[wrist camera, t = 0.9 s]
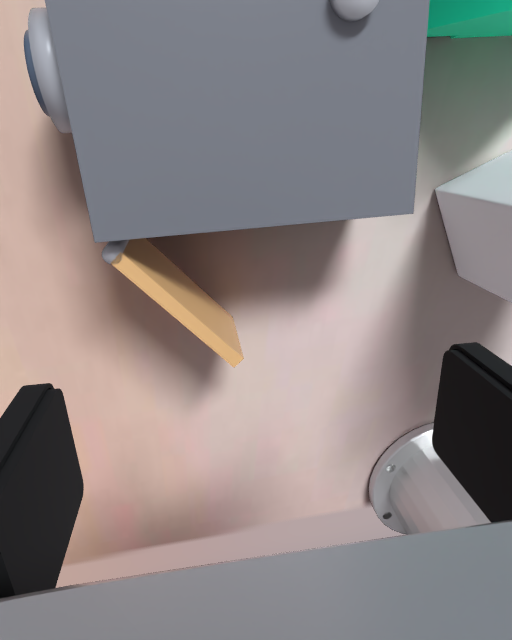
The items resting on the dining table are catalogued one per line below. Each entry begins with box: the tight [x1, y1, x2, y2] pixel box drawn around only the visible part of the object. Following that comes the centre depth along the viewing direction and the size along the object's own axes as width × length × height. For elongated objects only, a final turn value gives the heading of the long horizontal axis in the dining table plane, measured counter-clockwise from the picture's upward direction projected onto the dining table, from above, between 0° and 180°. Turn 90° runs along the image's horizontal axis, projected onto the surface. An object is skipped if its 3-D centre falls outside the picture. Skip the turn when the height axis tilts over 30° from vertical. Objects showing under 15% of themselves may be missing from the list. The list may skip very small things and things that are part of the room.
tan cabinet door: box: [102, 238, 244, 367], centre depth 27 cm, size 1×10×6 cm, turn 43°
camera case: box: [24, 0, 430, 243], centre depth 23 cm, size 12×18×9 cm
